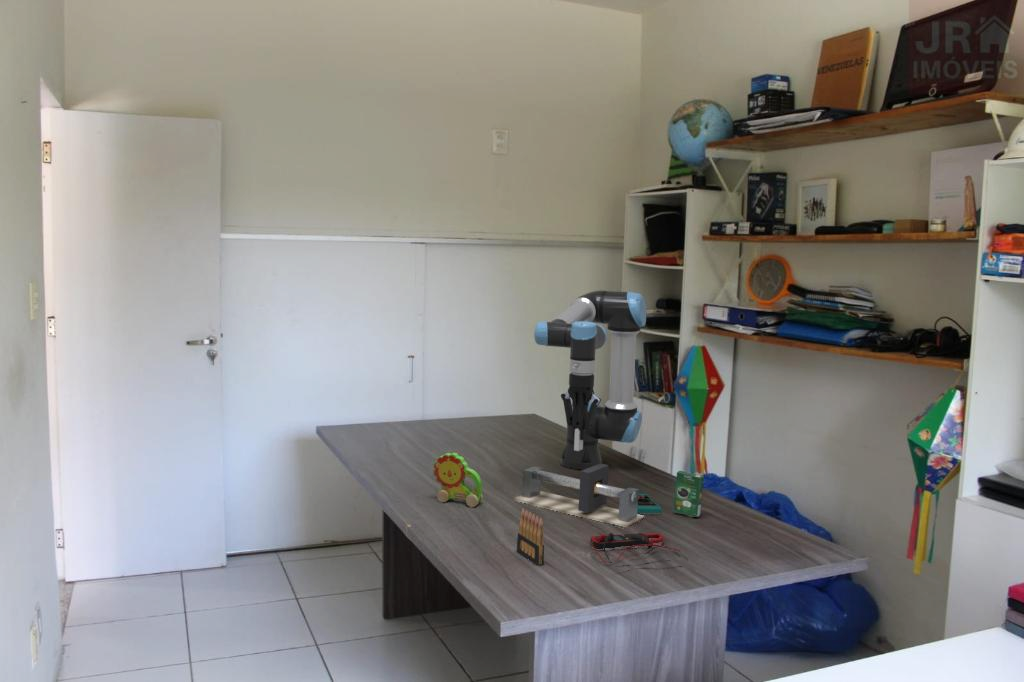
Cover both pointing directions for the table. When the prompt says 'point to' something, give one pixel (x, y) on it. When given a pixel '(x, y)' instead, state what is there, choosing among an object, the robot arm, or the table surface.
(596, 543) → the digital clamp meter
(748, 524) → the table surface
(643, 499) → the digital multimeter
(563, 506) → the board
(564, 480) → the pipe
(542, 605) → the table surface
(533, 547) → the ammunition clip
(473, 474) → the toy lion
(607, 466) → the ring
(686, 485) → the coffee box
